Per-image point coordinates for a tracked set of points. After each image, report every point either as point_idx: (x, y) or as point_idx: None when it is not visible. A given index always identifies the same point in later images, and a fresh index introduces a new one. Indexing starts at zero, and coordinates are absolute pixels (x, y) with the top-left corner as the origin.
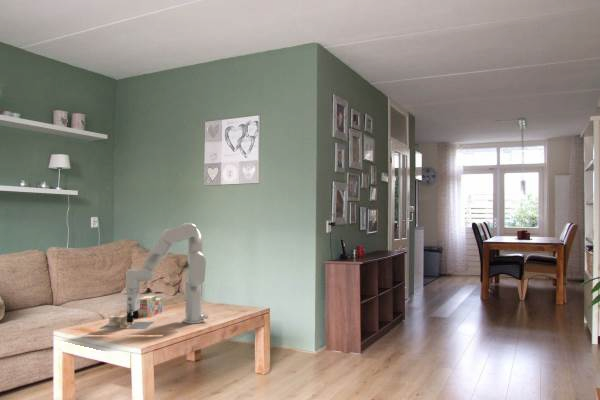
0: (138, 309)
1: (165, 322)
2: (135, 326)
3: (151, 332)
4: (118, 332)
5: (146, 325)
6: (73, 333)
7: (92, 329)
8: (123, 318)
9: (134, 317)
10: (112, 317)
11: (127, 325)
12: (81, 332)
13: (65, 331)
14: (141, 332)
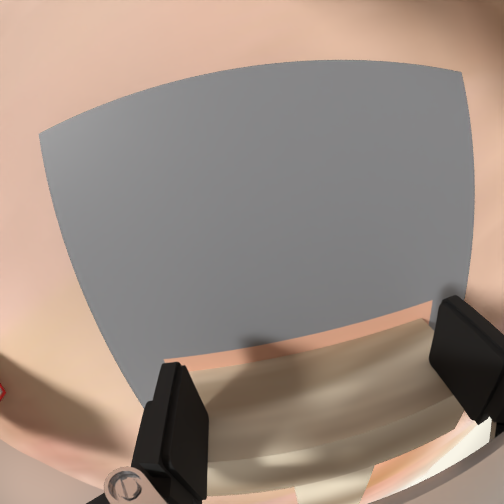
0: (113, 502)
1: (6, 54)
2: (374, 250)
3: (469, 10)
4: (486, 303)
5: (295, 113)
6: (433, 459)
7: (374, 467)
8: (450, 417)
9: (201, 413)
10: (359, 500)
11: (401, 336)
12: (426, 455)
13: (392, 491)
14: (493, 98)
